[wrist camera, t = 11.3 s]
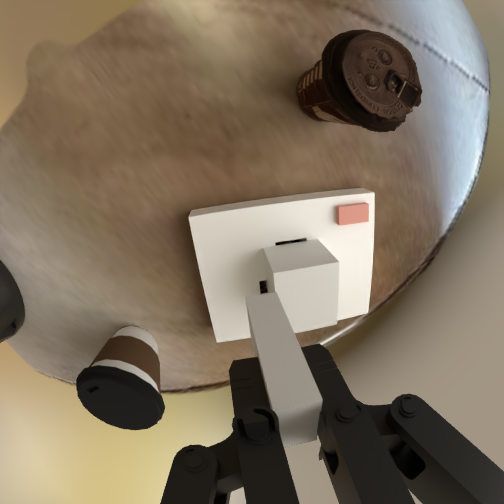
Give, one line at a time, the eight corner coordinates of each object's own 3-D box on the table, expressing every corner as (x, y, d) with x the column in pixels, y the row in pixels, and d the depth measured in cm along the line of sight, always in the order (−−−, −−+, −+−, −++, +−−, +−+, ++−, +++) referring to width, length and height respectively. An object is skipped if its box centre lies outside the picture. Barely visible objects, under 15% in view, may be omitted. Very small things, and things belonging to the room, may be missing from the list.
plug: (312, 283, 35) (336, 324, 27) (265, 291, 35) (279, 336, 27) (310, 231, 32) (339, 261, 24) (259, 238, 32) (273, 273, 24)
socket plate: (358, 301, 37) (370, 316, 34) (216, 328, 36) (217, 346, 33) (362, 187, 31) (377, 193, 28) (191, 210, 30) (187, 219, 27)
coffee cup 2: (366, 122, 28) (441, 121, 16) (304, 143, 29) (360, 146, 17) (339, 55, 25) (403, 20, 13) (274, 71, 25) (311, 28, 13)
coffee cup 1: (87, 331, 35) (57, 390, 23) (136, 297, 33) (109, 362, 22) (137, 377, 39) (123, 438, 28) (189, 351, 37) (183, 420, 26)
